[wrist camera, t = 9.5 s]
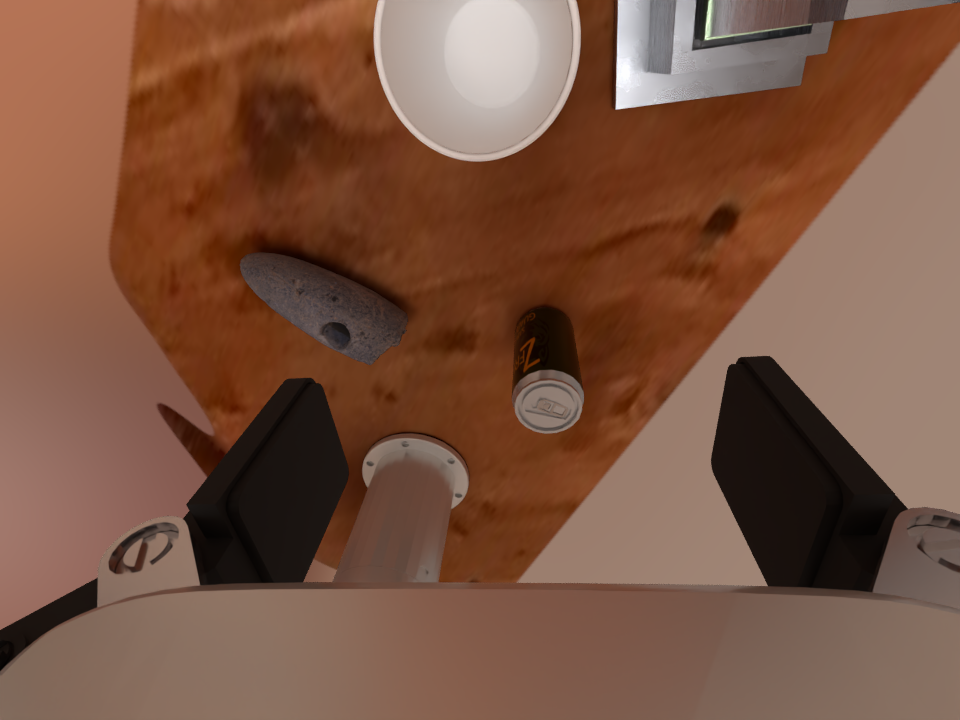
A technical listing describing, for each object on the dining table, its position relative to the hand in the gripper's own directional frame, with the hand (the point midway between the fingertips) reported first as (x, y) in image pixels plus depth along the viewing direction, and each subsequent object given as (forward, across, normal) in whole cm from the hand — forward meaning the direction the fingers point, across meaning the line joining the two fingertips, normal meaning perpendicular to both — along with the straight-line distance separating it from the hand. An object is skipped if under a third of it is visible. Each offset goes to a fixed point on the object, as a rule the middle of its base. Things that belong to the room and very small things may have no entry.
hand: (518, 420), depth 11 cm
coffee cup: (+31, +2, -9) cm, 32 cm away
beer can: (+32, -1, +14) cm, 35 cm away
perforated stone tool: (+32, +18, +8) cm, 37 cm away
